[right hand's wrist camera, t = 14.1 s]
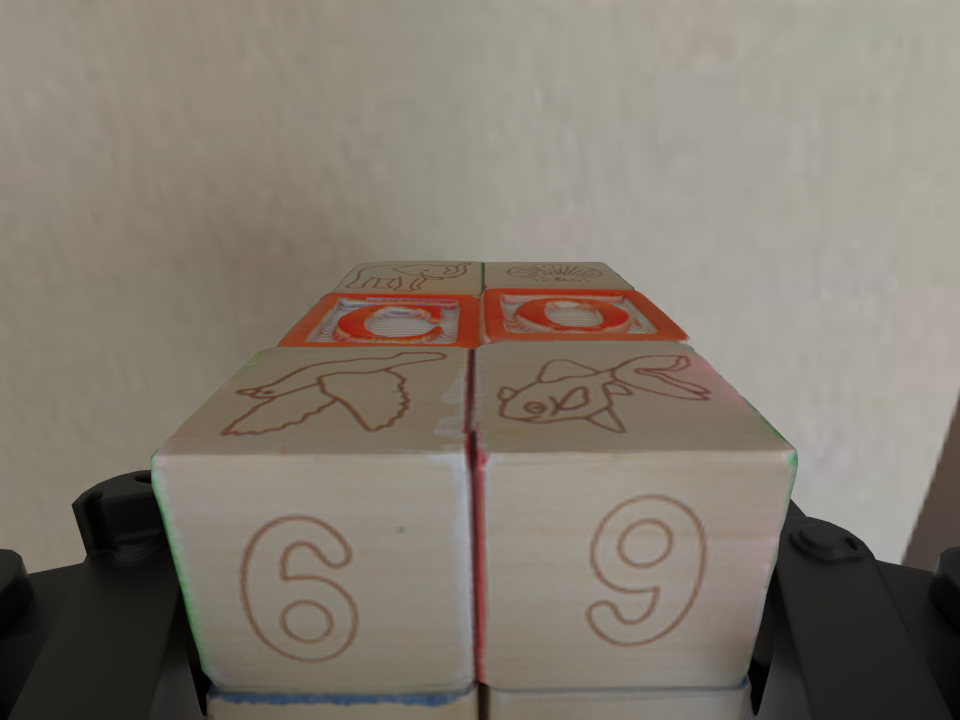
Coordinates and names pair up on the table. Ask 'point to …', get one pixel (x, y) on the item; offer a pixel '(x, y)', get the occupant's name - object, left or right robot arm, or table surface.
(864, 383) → the table surface
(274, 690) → the stack of blocks
